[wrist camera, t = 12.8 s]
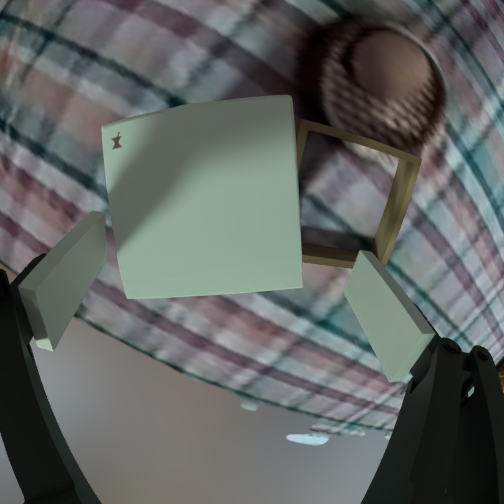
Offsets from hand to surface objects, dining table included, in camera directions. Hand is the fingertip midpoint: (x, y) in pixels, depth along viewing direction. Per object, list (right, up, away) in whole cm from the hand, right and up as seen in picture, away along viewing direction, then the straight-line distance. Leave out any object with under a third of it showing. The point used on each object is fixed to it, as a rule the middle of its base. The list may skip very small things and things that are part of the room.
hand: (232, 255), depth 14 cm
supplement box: (-1, +6, +12) cm, 14 cm away
